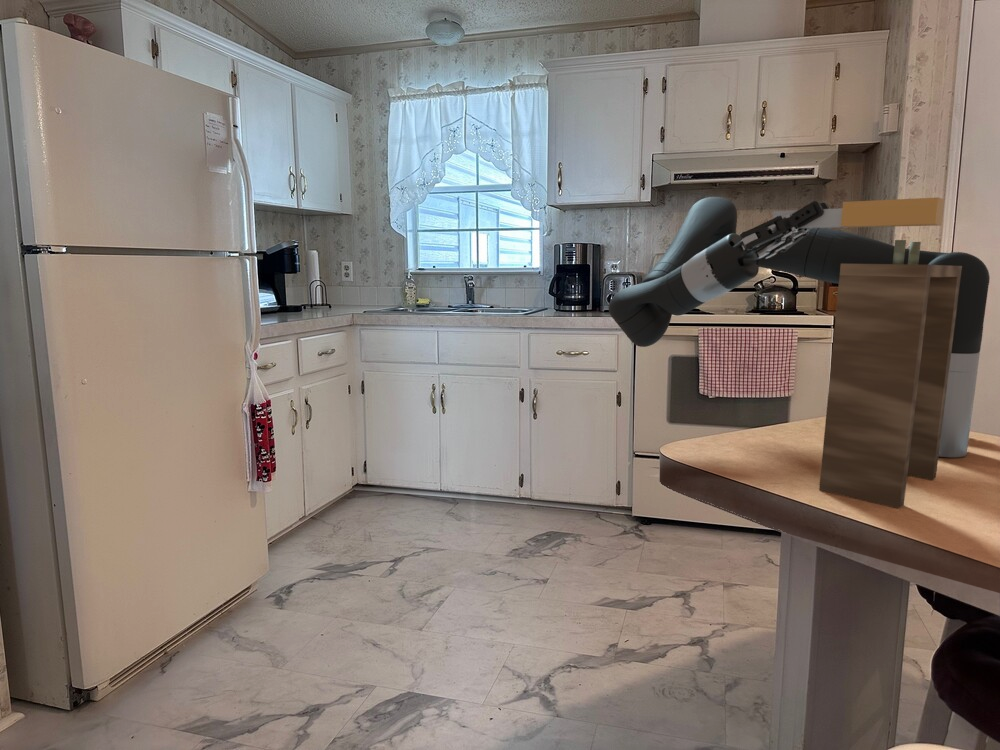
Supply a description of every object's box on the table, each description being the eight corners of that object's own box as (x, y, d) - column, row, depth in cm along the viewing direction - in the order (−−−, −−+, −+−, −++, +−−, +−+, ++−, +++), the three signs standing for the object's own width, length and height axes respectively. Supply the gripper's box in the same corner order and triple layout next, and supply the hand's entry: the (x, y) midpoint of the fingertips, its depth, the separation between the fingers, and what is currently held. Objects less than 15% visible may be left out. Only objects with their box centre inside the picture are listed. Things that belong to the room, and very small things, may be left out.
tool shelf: (863, 463, 109) (886, 244, 104) (935, 477, 103) (964, 244, 97) (819, 490, 96) (842, 240, 90) (899, 508, 89) (930, 239, 84)
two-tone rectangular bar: (780, 229, 102) (781, 206, 101) (941, 225, 88) (944, 199, 87) (770, 228, 99) (772, 205, 99) (935, 224, 85) (938, 197, 85)
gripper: (748, 289, 111) (853, 233, 100) (707, 291, 101) (818, 228, 90) (729, 248, 113) (830, 188, 101) (686, 246, 103) (793, 179, 91)
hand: (824, 207), depth 96 cm, fingers closed on two-tone rectangular bar, 2 cm apart
